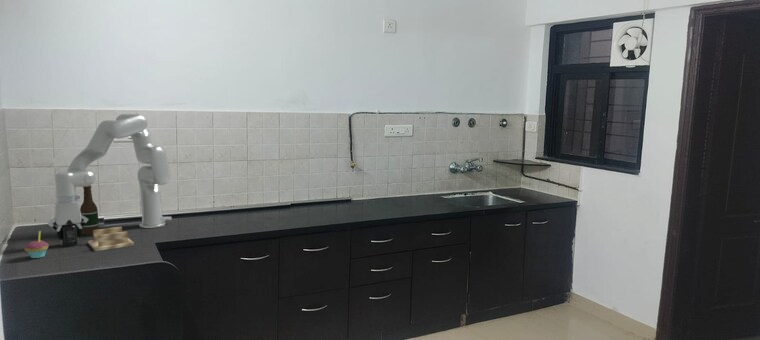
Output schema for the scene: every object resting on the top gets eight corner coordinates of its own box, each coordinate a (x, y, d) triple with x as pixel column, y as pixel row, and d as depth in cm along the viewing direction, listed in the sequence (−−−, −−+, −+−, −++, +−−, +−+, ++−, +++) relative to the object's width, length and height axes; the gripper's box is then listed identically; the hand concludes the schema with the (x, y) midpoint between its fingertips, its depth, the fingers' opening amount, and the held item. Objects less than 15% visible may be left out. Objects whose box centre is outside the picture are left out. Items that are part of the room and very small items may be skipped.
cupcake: (53, 254, 235) (51, 227, 234) (42, 260, 227) (39, 231, 225) (33, 254, 235) (30, 227, 234) (20, 260, 227) (18, 232, 225)
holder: (125, 238, 263) (125, 225, 262) (134, 245, 250) (133, 231, 249) (88, 243, 253) (87, 230, 252) (94, 251, 240) (93, 237, 240)
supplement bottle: (81, 243, 254) (80, 217, 252) (73, 247, 247) (71, 220, 246) (67, 243, 254) (65, 217, 252) (58, 247, 247) (56, 220, 246)
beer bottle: (79, 236, 266) (76, 187, 263) (83, 232, 273) (80, 184, 270) (97, 235, 268) (94, 186, 265) (101, 231, 275) (97, 184, 272)
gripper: (87, 196, 256) (89, 233, 258) (43, 200, 246) (46, 239, 248) (89, 198, 250) (92, 237, 252) (45, 203, 240) (48, 243, 242)
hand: (69, 237), depth 250 cm, fingers closed on supplement bottle, 6 cm apart
